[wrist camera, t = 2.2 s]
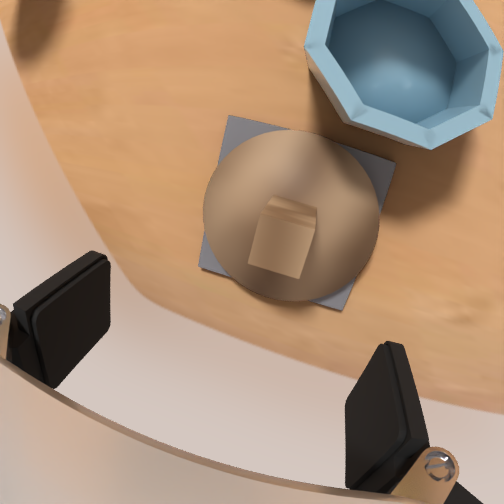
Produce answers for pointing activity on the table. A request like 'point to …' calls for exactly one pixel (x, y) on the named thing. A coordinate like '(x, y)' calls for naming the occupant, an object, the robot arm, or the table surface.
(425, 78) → the bowl
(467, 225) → the table surface
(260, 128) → the mat
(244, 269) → the lid
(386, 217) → the table surface
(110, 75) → the table surface
